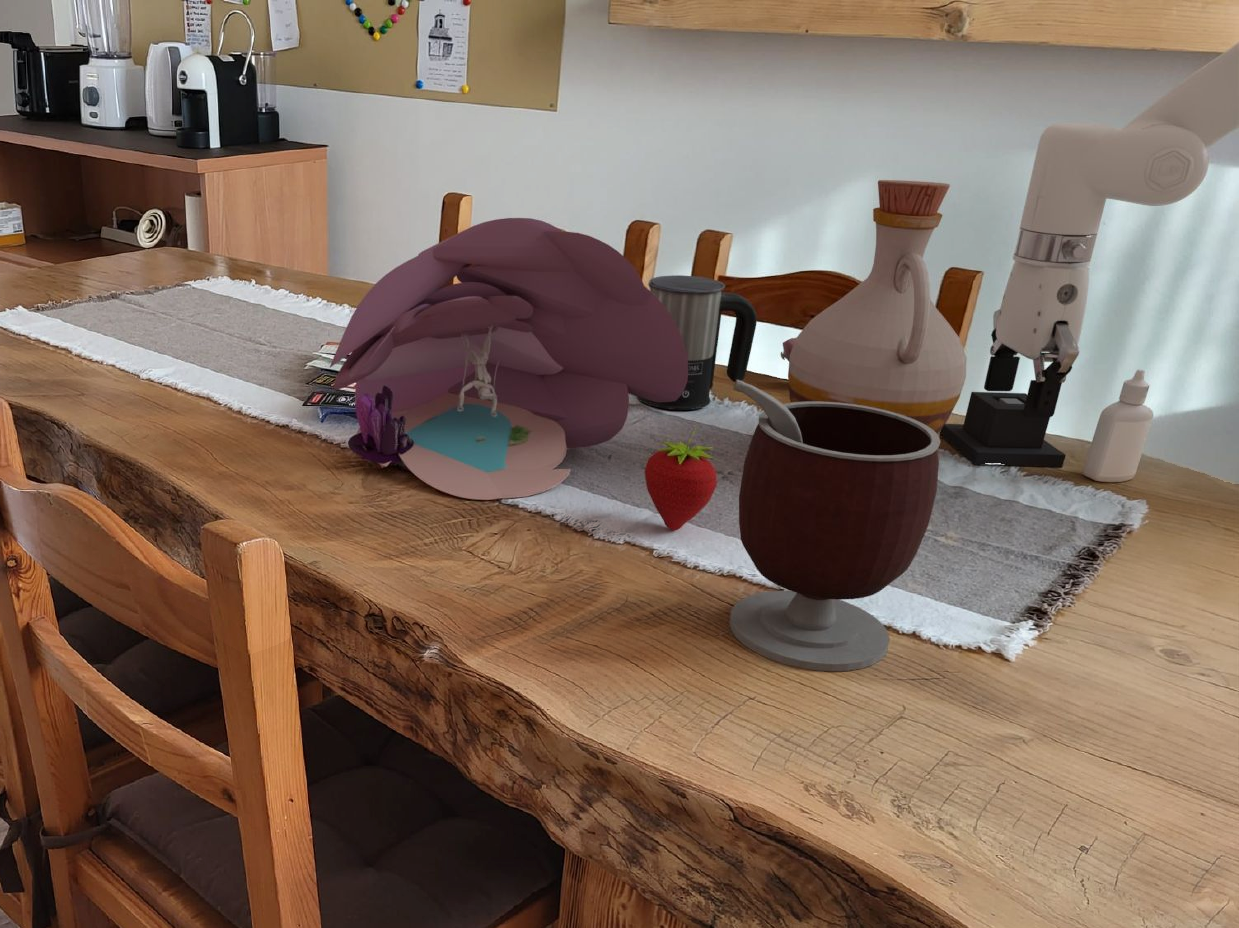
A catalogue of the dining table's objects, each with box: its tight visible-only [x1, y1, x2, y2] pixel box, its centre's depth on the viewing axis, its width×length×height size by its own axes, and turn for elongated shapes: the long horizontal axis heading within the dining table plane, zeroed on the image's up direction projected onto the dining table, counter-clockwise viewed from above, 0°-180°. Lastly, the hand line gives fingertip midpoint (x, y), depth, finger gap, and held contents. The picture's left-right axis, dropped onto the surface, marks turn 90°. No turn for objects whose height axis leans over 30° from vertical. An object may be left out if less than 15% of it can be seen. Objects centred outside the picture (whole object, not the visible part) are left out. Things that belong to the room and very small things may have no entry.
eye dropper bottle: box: [1082, 369, 1154, 483], centre depth 126 cm, size 4×6×12 cm
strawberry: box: [644, 427, 718, 531], centre depth 109 cm, size 6×8×10 cm
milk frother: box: [636, 274, 758, 411], centre depth 148 cm, size 14×16×15 cm
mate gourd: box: [729, 380, 941, 672], centre depth 89 cm, size 16×14×20 cm
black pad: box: [963, 391, 1051, 448], centre depth 133 cm, size 6×6×4 cm
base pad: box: [939, 398, 1067, 468], centre depth 134 cm, size 10×10×6 cm
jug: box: [787, 179, 967, 435], centre depth 121 cm, size 20×18×30 cm
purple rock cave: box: [329, 217, 688, 501], centre depth 119 cm, size 35×24×28 cm
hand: (1017, 403), depth 132 cm, fingers open, 9 cm apart
